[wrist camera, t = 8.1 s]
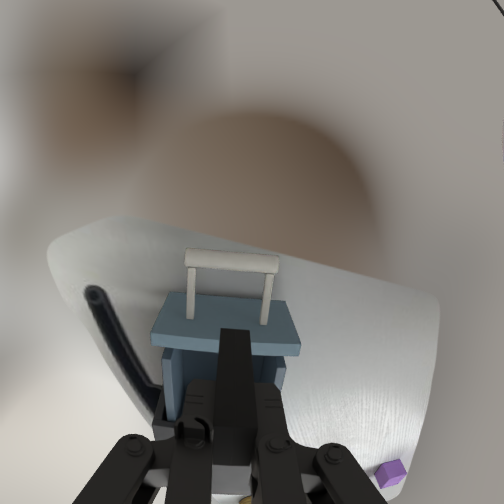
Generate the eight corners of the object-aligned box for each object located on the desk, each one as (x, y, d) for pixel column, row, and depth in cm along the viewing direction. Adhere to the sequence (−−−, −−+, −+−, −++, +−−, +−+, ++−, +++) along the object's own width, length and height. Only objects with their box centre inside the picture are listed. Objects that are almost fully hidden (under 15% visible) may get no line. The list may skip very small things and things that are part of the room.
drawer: (171, 232, 26) (147, 256, 19) (294, 243, 27) (316, 271, 19) (173, 391, 31) (162, 439, 24) (267, 398, 32) (274, 446, 25)
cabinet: (168, 365, 31) (151, 424, 22) (275, 373, 32) (287, 433, 23) (175, 437, 35) (166, 488, 26) (260, 443, 36) (266, 494, 27)
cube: (382, 463, 42) (389, 479, 37) (399, 458, 42) (407, 473, 38) (374, 474, 43) (380, 489, 38) (391, 469, 43) (397, 484, 39)
